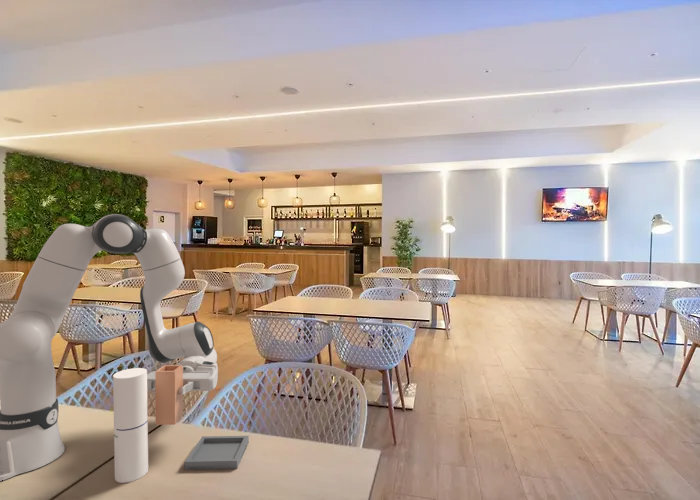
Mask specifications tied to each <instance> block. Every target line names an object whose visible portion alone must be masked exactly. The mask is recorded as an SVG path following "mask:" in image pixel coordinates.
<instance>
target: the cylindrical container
mask: <svg viewBox="0 0 700 500" xmlns="http://www.w3.org/2000/svg"><path fill="white" fill-rule="evenodd" d="M147 374H148V369H147V368H144V367H134V368H127V369H123V370H119V371H117V372H115V373H114V374H113V375H112V381H113V382H112V383H113V384H112V385H113V386H112V387H113V388H112V389H113V391H112V392H113V440H114V442H113V445H114V446H113V447H114V451H113V452H114V453H113V454H114V457H113V458H114V480H115V481H116V482H118V483H132V482H134V481H137V480H139V479H141V478H143V477H144V476H145V475H146V474H147V473H148V472H149V431H148V430H149V428H148V427H149V423H148V419H149V417H148V411H149V410H148V391H147Z"/></svg>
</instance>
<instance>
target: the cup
mask: <svg viewBox="0 0 700 500" xmlns="http://www.w3.org/2000/svg"><path fill="white" fill-rule="evenodd" d="M155 371H156V370H155ZM180 386H183V365H177V364H174V365H173V364H172V365H171V364H166V365H163V366H162V367H160V368H158V369H157V371H156V372H155V395H154V397H155V402H154V403H155V409H154V410H155V426H167V425H168V426H169V425H173V426H175V425H176V424H177V423H178V422H179V421H180V419H181V418H182V417H183V416H184V394H178V388H179V387H180Z"/></svg>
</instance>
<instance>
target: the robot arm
mask: <svg viewBox="0 0 700 500" xmlns="http://www.w3.org/2000/svg"><path fill="white" fill-rule="evenodd" d="M103 251H104V252H107V253H111V254H115V255H116V254H117V255H119V254H120V255H122V254H124V255H125V254H134V255H135V257H136V258H137V260H138V261H139V264H140V266H141V269H142V272H143V275H144V285H143V286H142V287H141V288H140V292H139V296H140V297H139V298H140V299H139V300H140V303H141V310H142V314H143V320H144V323H145V328H146V333H147V339H148V340H147V341H148V351H149V356H151V358H152V359H154V360H155V361H157V362H159V363H162V364H166V363H168V362H171V361H174V360H176V359H179V358H183V357H184V358H183V359H182V360H181V361H179V362H178V363H176V365H183V386H180V387H179V388H178V394H183V395H184V394H186V393H189V392H193V391H194V392H197V391H198V392H201V391H203V392H205V391H207V392H211V391H212V390H215V389H216V387H217V385H218V377H219V368H218V363H217V360H218V354H217V353H218V352H217V350H216V349H215V348H214V346H215V344H214V337H213V334H212V331H211V330H210V328H209V327H208V326H207V325H206V324H204V323H202V322H201V321H196V322H191V323H187V324H183V325H181V326H177V327H174V328H171V329H170V328H169V329H168V328H166V327H165V323H164V319H163V315H162V309H161V302H162V300H164V298H165V297H166V296H168V295H169V294H171V293H172V292H174V291H175V290H176V289H177V288H178V287H179V286H180V285H181V284H182V282H183V281H184V279H185V275H186V272H185V271H186V270H185V266H184V264H183V260H182V258H181V254H180V253H179V250H178V249H177V246H176V244H175V243H174V241H173V238H171V235H170V234H169V233H168V232H167V231H166V230H165V229H162V228H157V227H156V228H149V229H145V228H143V227H142V226H141V225H139V224H138V223H137V222H135V221H134V220H133V219H132V218H130V217H128V216H126V215H125V214H118V213H111V214H106V215H104V216H102V217H101V218H100V219H98V220H97V221H96V222H94V223H93V224H91V225H89V226H84V225H81V224H77V223H64V224H61V225H59V226H58V227H57V228H56V229H55V230H54V231H53V233H52V234H51V235H50V236H49V237H48V238H47V240H46V242H45V243H44V244H43V246H42V247H41V249H40V251H39V254H38V255H37V257H36V259H35V261H34V263H33V265H32V267H31V268H30V270H29V273H27V276H26V278H25V280H24V282H23V283H22V287H21V288H22V289H21V291H20V294H19V296H18V300H17V301H16V304H15V306H14V309H13V311H12V312H11V314H10V315H9V317H8V318H7V319H5V320H4V321H2V322H0V482H3V481H5V480H8V479H10V478H12V477H15V476H17V475H20V474H25V473H27V472H30V471H33V470H37V469H39V468H41V467H45V466H47V465H48V464H50V463H52V462H53V461H56V459H58V458H59V457H60V456H62V454H64V453H65V450H66V447H65V445H64V443H63V440H62V437H61V432H60V428H59V423H58V418H59V400H58V398H57V386H56V385H57V384H56V383H57V382H56V380H57V379H56V377H57V376H56V374H57V373H56V368H55V364H54V358H53V353H52V351H53V350H52V340H53V339H54V337H55V336H56V335H57V333H58V331H59V329H60V326H61V324H62V322H63V319H64V318H65V316H66V314H67V311H68V310H69V309H68V308H69V306H70V305H71V302H72V300H73V297H74V296H75V293H76V292H77V289H78V287H79V286H80V283H81V281H82V278H83V277H84V274H85V273H86V271H87V269H88V266H89V264H90V262H91V261H92V260H93V257H94V256H95V255H96V254H97V253H99V252H103ZM157 370H158V369H157ZM157 370H153V371H150V372H149V373H147V392H152V395H154V396H155V372H156V371H157ZM2 480H3V481H2Z"/></svg>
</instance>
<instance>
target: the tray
mask: <svg viewBox="0 0 700 500" xmlns="http://www.w3.org/2000/svg"><path fill="white" fill-rule="evenodd" d="M248 445H249V435H217V436H216V435H213V436H207V435H205V436H201V438H200V439H199V440H198V442H197V443H196V445H195V446H194V448H193V449H192V451H191V452H190V454H189V455H188V456H187V458H186V460H184V470H185V471H187V470H188V471H189V470H192V471H193V470H230V469H233V470H234V469H235V470H237V469H238V468H239V465H240V463H241V460H242V459H243V456H244V454H245V451H246V449H247V447H248Z"/></svg>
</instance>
